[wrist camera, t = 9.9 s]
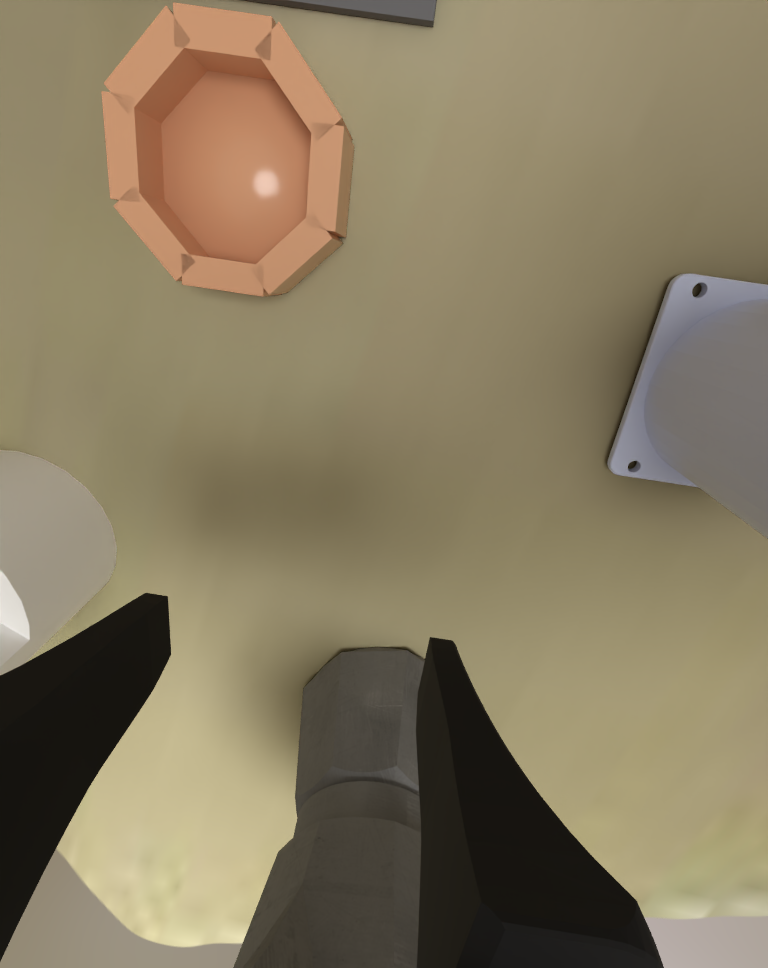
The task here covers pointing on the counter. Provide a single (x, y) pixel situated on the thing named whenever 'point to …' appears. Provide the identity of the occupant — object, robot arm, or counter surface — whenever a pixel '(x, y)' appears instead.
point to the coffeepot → (349, 825)
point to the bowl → (227, 152)
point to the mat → (370, 9)
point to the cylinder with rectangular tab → (46, 553)
